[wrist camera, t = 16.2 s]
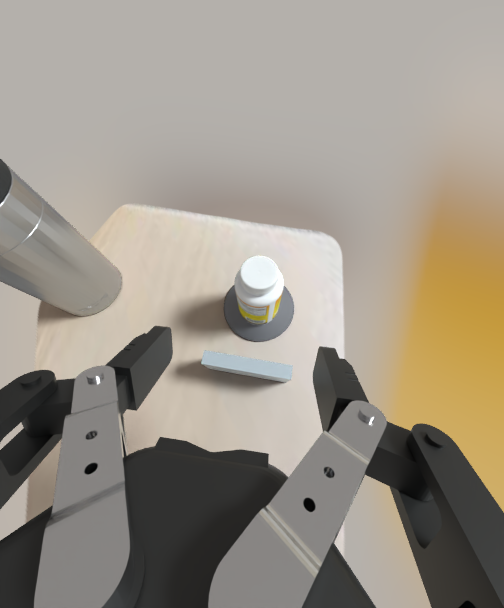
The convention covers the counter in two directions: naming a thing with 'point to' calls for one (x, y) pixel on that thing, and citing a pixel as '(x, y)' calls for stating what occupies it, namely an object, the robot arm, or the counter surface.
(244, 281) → the supplement bottle
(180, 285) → the counter surface
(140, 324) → the counter surface
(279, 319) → the resting mat
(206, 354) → the low wall
